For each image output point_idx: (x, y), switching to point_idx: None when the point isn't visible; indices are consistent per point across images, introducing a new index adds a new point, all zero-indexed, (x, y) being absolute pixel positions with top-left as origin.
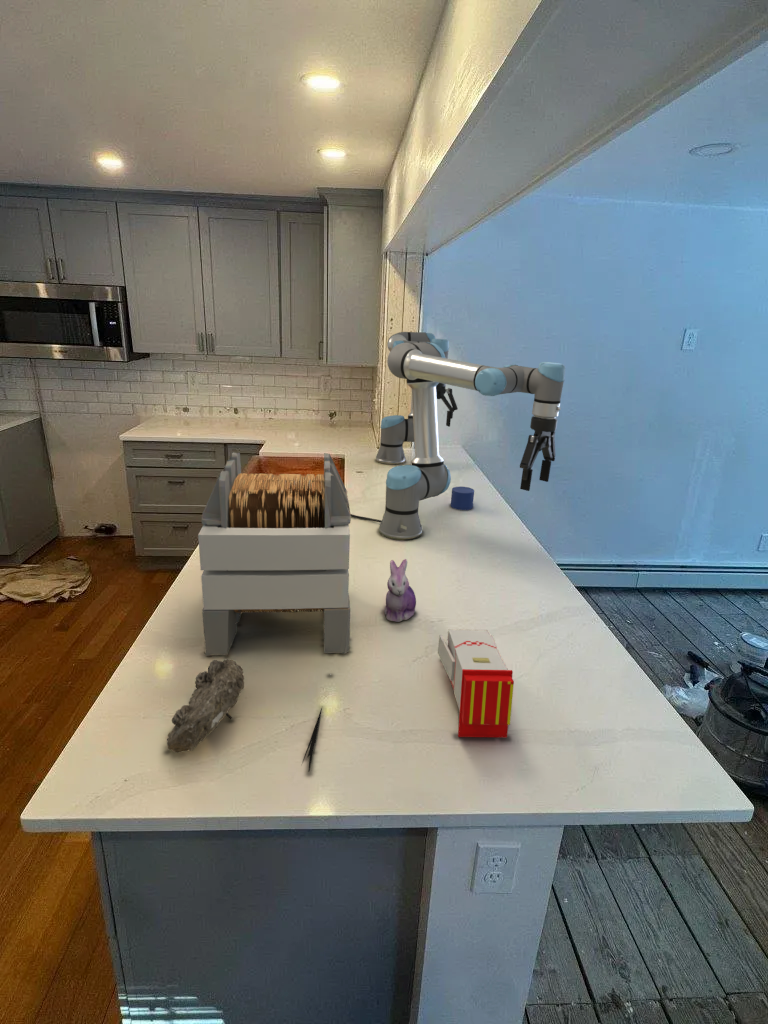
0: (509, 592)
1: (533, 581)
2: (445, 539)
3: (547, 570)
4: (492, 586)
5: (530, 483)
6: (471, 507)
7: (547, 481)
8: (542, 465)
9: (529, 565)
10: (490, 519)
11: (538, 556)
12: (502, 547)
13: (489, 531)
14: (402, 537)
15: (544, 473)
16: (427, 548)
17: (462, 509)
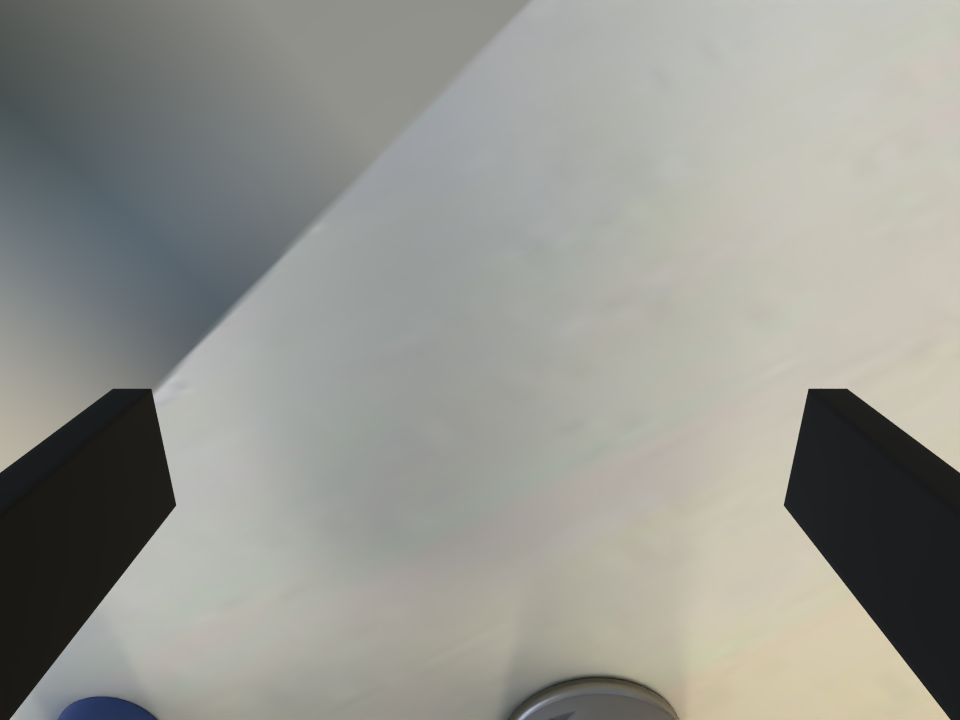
0: (920, 98)
1: (714, 55)
2: (525, 601)
3: (518, 57)
4: (896, 200)
5: (878, 444)
6: (94, 704)
7: (142, 390)
8: (11, 692)
9: (526, 171)
10: (130, 585)
11: (372, 187)
12: (411, 384)
13: (275, 519)
14: (669, 711)
15: (96, 521)
16: (670, 601)
17: (148, 716)
